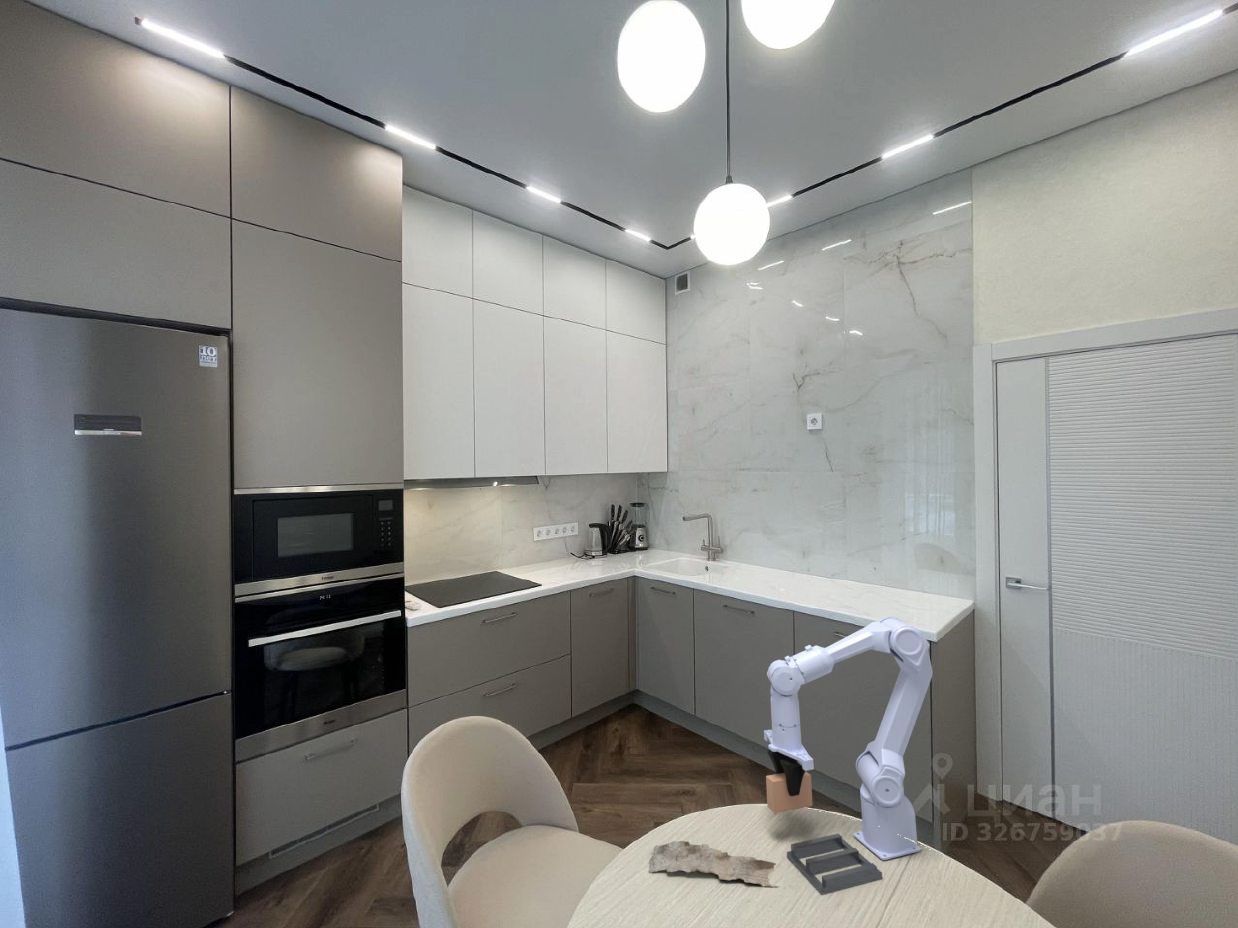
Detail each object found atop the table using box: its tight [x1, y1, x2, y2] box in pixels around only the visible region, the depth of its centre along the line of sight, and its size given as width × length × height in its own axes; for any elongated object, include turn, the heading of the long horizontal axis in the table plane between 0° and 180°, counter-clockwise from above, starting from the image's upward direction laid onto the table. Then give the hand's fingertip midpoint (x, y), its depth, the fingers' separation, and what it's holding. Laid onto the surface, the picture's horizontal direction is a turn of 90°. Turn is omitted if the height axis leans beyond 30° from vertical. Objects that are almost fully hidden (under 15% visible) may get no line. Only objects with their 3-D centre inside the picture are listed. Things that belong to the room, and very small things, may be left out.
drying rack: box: [786, 833, 883, 896], centre depth 92 cm, size 13×10×2 cm
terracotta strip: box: [765, 771, 813, 814], centre depth 102 cm, size 9×2×6 cm, turn 106°
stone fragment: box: [648, 840, 780, 889], centre depth 93 cm, size 25×3×10 cm
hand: (789, 790), depth 102 cm, fingers closed on terracotta strip, 2 cm apart
